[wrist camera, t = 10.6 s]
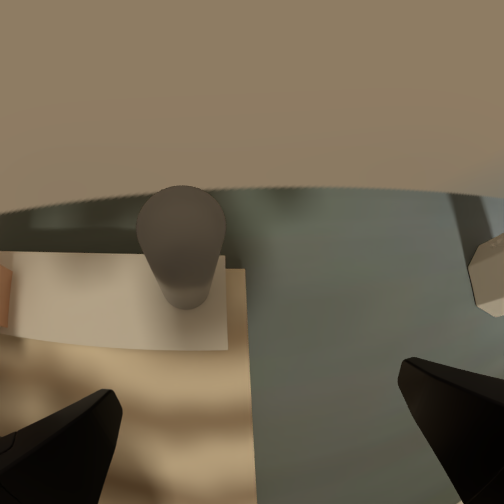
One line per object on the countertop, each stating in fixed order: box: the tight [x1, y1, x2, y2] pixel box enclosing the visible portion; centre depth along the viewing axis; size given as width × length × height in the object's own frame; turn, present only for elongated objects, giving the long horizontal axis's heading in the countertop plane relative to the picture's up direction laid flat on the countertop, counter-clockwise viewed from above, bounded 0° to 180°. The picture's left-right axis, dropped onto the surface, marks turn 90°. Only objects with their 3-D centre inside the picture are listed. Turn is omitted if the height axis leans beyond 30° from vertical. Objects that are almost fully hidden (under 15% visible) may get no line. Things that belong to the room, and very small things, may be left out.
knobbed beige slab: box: [0, 186, 228, 351], centre depth 12 cm, size 6×20×10 cm, turn 93°
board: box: [0, 269, 257, 504], centre depth 16 cm, size 18×25×1 cm
